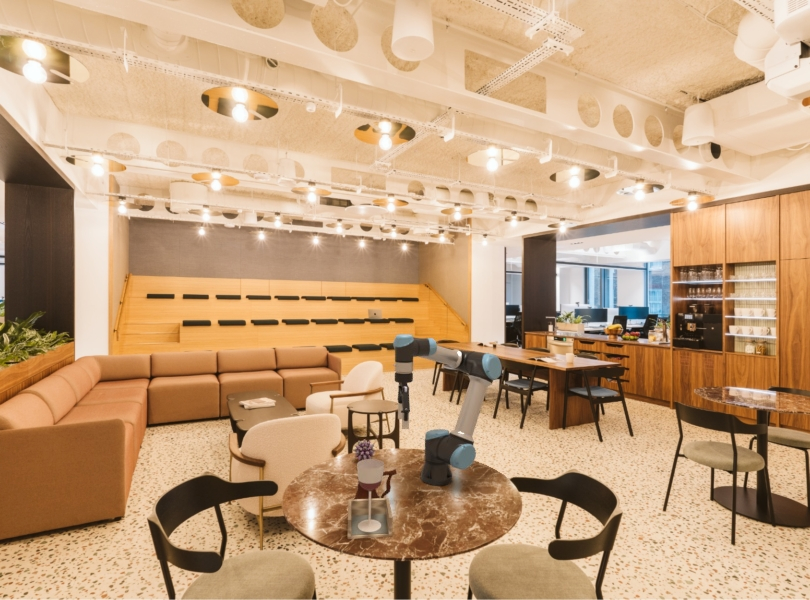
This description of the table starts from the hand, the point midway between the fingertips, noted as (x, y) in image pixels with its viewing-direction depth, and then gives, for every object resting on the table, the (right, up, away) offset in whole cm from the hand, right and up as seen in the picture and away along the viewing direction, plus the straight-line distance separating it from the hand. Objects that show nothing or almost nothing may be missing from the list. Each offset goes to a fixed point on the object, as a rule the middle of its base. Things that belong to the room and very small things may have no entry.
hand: (403, 423), depth 169 cm
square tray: (-13, -34, -15) cm, 39 cm away
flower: (-21, -35, +48) cm, 63 cm away
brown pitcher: (-12, -35, +2) cm, 37 cm away
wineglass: (-13, -33, -16) cm, 39 cm away
